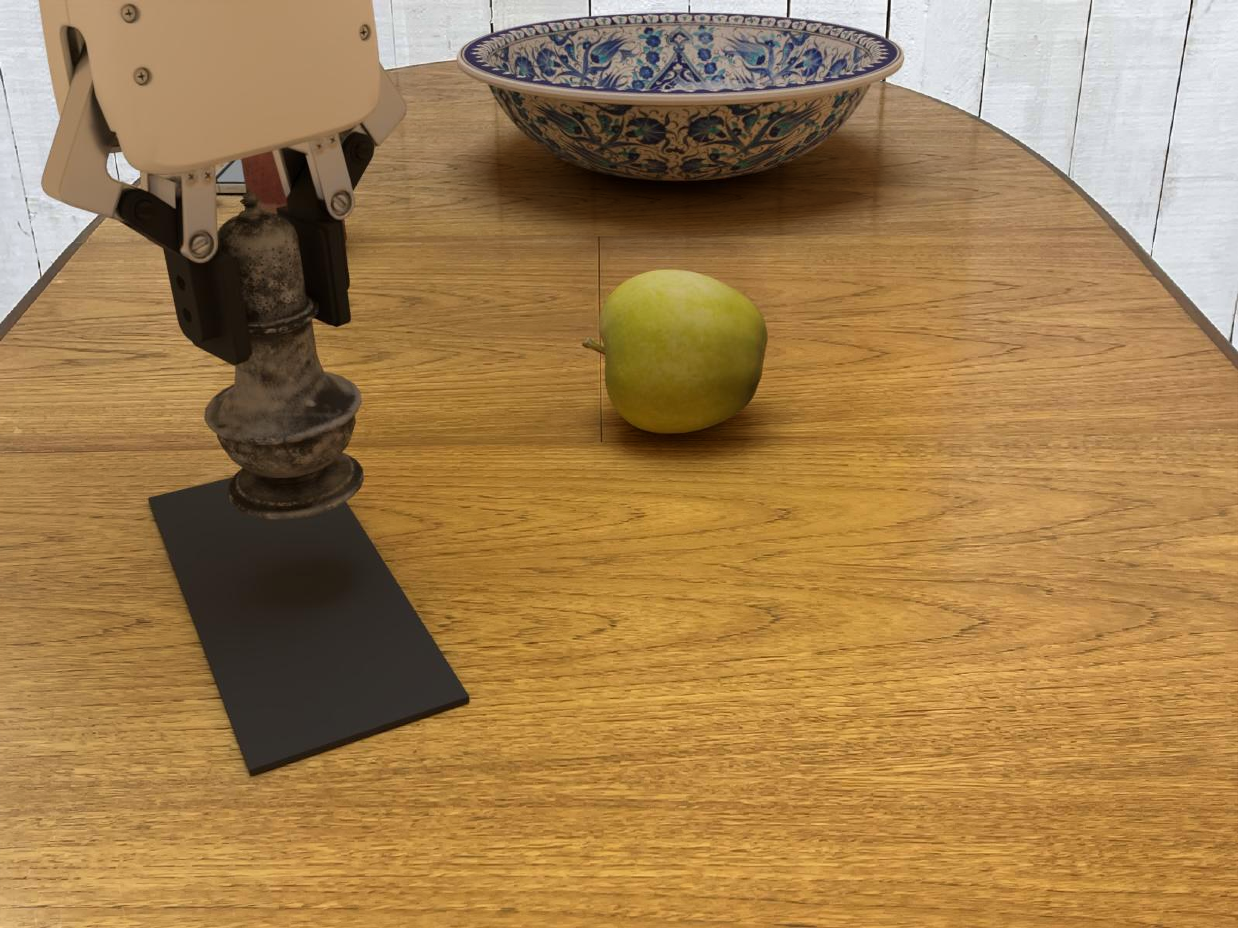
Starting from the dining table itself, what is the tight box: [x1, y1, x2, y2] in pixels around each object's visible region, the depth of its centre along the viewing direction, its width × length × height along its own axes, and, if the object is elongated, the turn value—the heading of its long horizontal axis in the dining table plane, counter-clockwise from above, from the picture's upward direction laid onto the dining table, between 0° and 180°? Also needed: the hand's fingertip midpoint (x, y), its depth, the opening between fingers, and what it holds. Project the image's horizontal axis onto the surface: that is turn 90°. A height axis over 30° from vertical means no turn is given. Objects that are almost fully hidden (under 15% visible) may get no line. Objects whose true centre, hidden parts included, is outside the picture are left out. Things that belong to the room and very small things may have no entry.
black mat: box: [147, 476, 471, 777], centre depth 52 cm, size 8×20×1 cm, turn 27°
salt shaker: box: [203, 189, 365, 519], centre depth 47 cm, size 6×6×12 cm
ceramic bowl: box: [456, 11, 905, 182], centre depth 99 cm, size 34×34×10 cm
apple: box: [581, 269, 769, 434], centre depth 62 cm, size 8×9×8 cm
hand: (271, 329), depth 47 cm, fingers closed on salt shaker, 3 cm apart
